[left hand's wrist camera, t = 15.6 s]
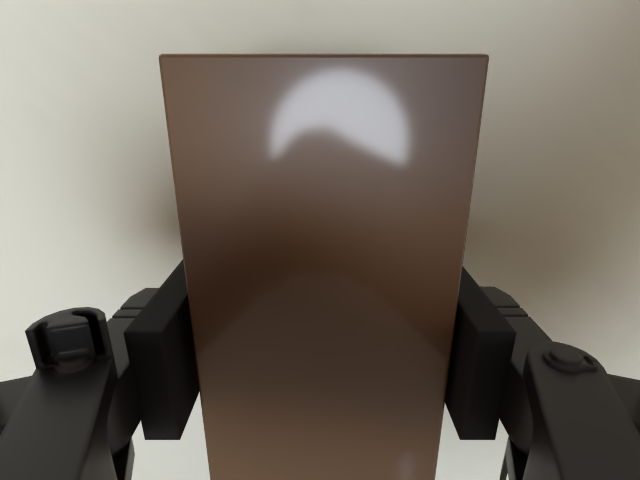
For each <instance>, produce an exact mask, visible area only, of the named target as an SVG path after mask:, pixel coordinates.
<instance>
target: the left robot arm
mask: <svg viewBox="0 0 640 480" xmlns="http://www.w3.org/2000/svg"><path fill="white" fill-rule="evenodd" d="M25 333H26V336H27V339H28V343H29V346H30V349H31V352H32V356H33V359H34V362H35V366H36V370H35V372H34V374H33V375H32V376H29V377H24V378H19V379H14V380H9V381H4V382H0V480H131V477H132V470H133V463H134V455H135V453H134V446H133V441H132V435H133V433H134V432H135V430H136V428H137V426H138V424H139V422H140V421H141V422H142V427H143V432H144V437H145V440H180V438H181V436H182V433H183V431H184V428H185V426H186V423H187V421H188V418H189V416H190V414H191V411H192V409H193V406H194V404H195V401H196V399H197V396H198V394H199V391H200V390H199V382H198V374H197V366H196V357H195V349H194V341H193V333H192V325H191V317H190V309H189V300H188V292H187V284H186V276H185V268H184V260H182V261H181V262H180V264H179V265H178V266H177V267H176V269H175V270H174V271H173V272H172V273H171V275H170V276H169V277H168V278H167V280H166V281H165V282H164V283H163V284H162V286H161V287H160V288H145V289H143V290H142V291H140V292H138V293H136V294H135V295H133V296H131V297H130V298H129V299H128V300H127V301H126V302H125V303H124V304H123V305H122V306H121V309H120V310H118V311H117V312H116V313H115V314H114V315H113V316H112V318H110V319H109V320H108V322H106V317H105V313H104V312H102V311H101V310H99V309H96V308H90V307H82V308H72V309H67V310H63V311H59V312H56V313H53V314H51V315H48V316H45V317H43V318H42V319H40V320H38V321H36V322H35V323H33V324H32V325H31V326H30V327H29V328H28V329H27V330H26V331H25ZM445 404H446V406H447V409H448V411H449V414H450V416H451V419H452V421H453V423H454V426H455V428H456V431H457V433H458V436H459V438H460V440H495V437H496V432H497V427H498V422H499V418H500V420H501V422H502V424H503V426H504V428H505V429H506V431H507V433H508V435H509V437H508V441H507V446H506V450H505V455H504V460H503V464H502V469H501V474H500V480H506V477H507V473H508V476H509V480H640V380H636V379H631V378H626V377H620V376H615V375H611V374H607V373H606V371H605V369H604V367H603V366H602V365H601V364H600V363H599V362H598V360H597V359H595V358H594V357H592V356H591V355H589V354H588V353H586V352H585V351H582V350H580V349H578V348H576V347H573V346H571V345H567V344H563V343H559V342H553V341H552V340H551V339H550V338H549V337H548V336H547V335H546V334H545V333H544V331H543V330H542V329H541V328H540V327H539V326H538V325H537V324H536V323H535V322H534V321H533V320H532V319H531V318H530V317H528V314H527V313H526V312H525V311H524V310H523V309H522V308H520V306H519V305H518V304H517V303H516V301H515V300H514V299H513V298H512V297H511V296H510V295H508V294H506V293H505V292H503V291H501V290H499V289H497V288H496V287H479V286H478V284H477V283H476V282H475V281H474V280H473V278H472V277H471V276H470V275H469V273H468V272H467V271H466V270H465V269H464V267H463V266H462V272H461V279H460V287H459V295H458V303H457V310H456V318H455V326H454V334H453V342H452V349H451V357H450V365H449V373H448V381H447V388H446V396H445Z"/></svg>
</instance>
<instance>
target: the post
mask: <svg viewBox="0 0 640 480" xmlns="http://www.w3.org/2000/svg"><path fill="white" fill-rule="evenodd" d="M488 61H489V56H488V55H487V54H161V55H159V64H160V72H161V80H162V89H163V97H164V105H165V113H166V121H167V129H168V137H169V146H170V154H171V162H172V170H173V178H174V186H175V194H176V203H177V211H178V219H179V227H180V235H181V243H182V252H183V260H184V268H185V276H186V284H187V292H188V300H189V309H190V317H191V325H192V333H193V341H194V349H195V357H196V366H197V374H198V382H199V390H200V398H201V406H202V414H203V423H204V431H205V439H206V447H207V455H208V463H209V471H210V480H435V474H436V466H437V458H438V451H439V443H440V435H441V427H442V419H443V412H444V404H445V396H446V388H447V381H448V373H449V365H450V357H451V349H452V342H453V334H454V326H455V318H456V310H457V303H458V295H459V287H460V279H461V272H462V264H463V256H464V248H465V240H466V233H467V225H468V217H469V209H470V201H471V194H472V186H473V178H474V170H475V163H476V155H477V147H478V139H479V131H480V124H481V116H482V108H483V100H484V92H485V85H486V77H487V69H488Z"/></svg>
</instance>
